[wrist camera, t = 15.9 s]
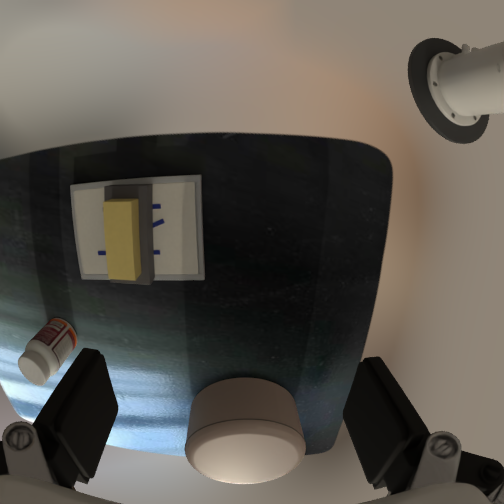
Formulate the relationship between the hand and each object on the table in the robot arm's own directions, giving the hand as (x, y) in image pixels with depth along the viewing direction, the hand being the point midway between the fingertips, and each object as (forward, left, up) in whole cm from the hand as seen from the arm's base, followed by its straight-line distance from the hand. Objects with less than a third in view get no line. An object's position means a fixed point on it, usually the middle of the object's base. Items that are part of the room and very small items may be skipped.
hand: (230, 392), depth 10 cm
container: (+29, +12, -28) cm, 42 cm away
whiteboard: (+5, -12, -28) cm, 31 cm away
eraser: (+5, -12, -27) cm, 30 cm away
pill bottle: (+26, -21, -28) cm, 44 cm away
